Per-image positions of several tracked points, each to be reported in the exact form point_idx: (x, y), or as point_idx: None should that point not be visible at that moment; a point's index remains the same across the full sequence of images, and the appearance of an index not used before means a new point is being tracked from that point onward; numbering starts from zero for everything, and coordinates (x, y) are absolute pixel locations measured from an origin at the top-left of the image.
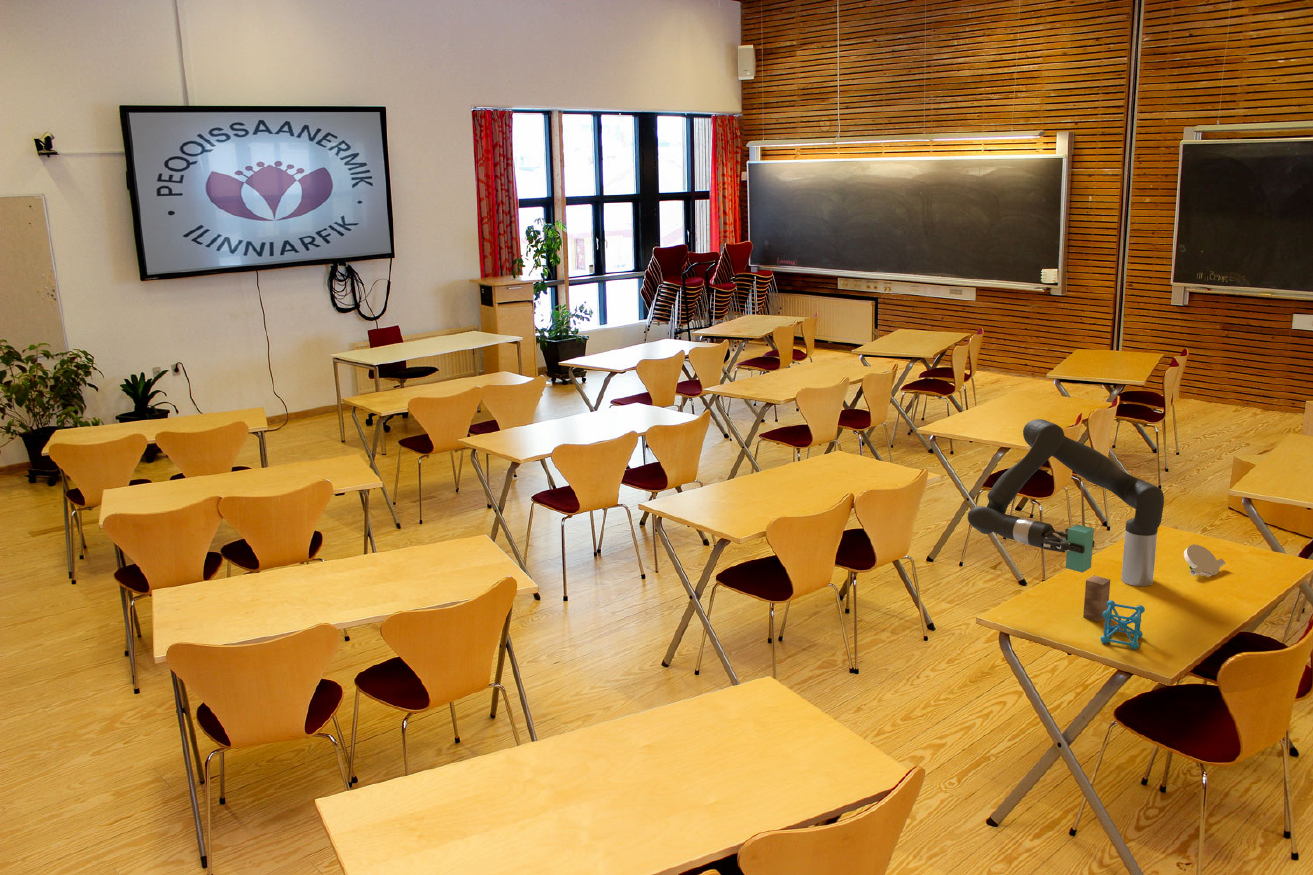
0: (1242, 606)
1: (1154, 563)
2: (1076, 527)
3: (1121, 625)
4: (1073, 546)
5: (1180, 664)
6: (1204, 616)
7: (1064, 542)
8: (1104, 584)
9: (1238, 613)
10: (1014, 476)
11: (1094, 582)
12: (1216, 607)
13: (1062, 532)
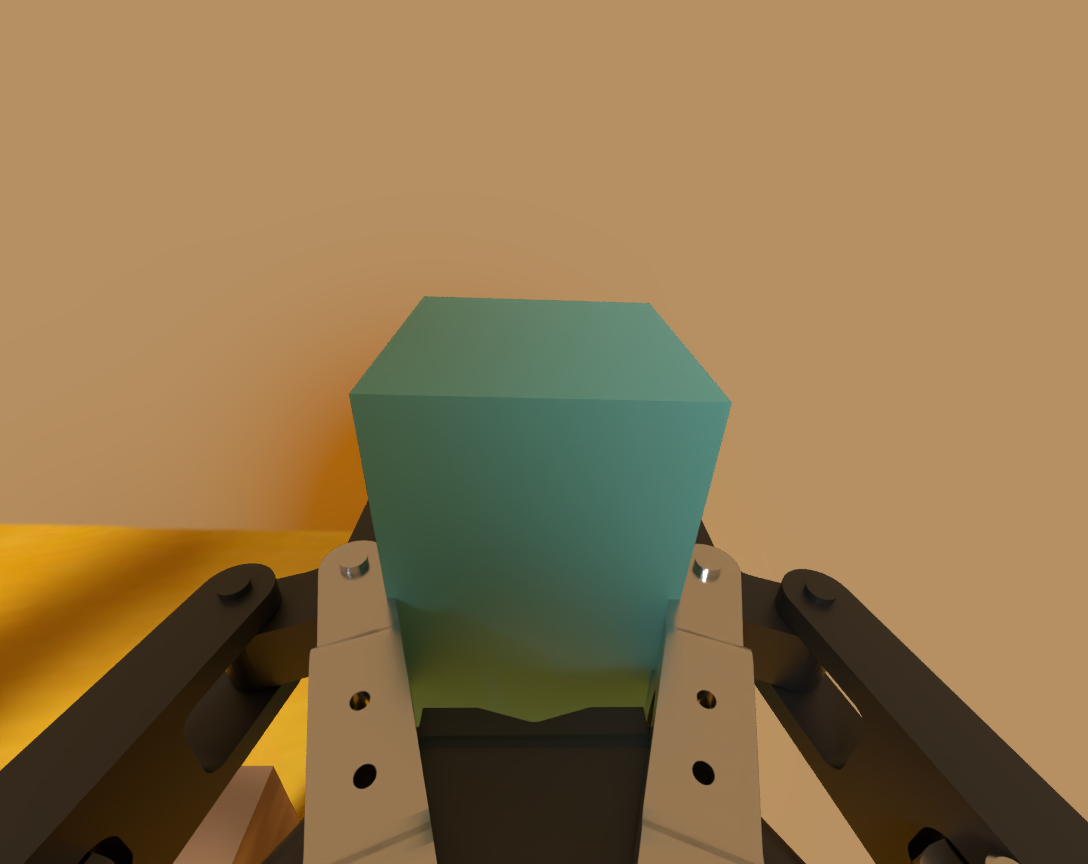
0: (19, 545)
1: None
2: (548, 363)
3: None
4: (701, 528)
5: None
6: (134, 588)
7: (740, 626)
8: (243, 770)
9: (89, 539)
10: None
11: (244, 835)
12: (34, 587)
13: (402, 841)
